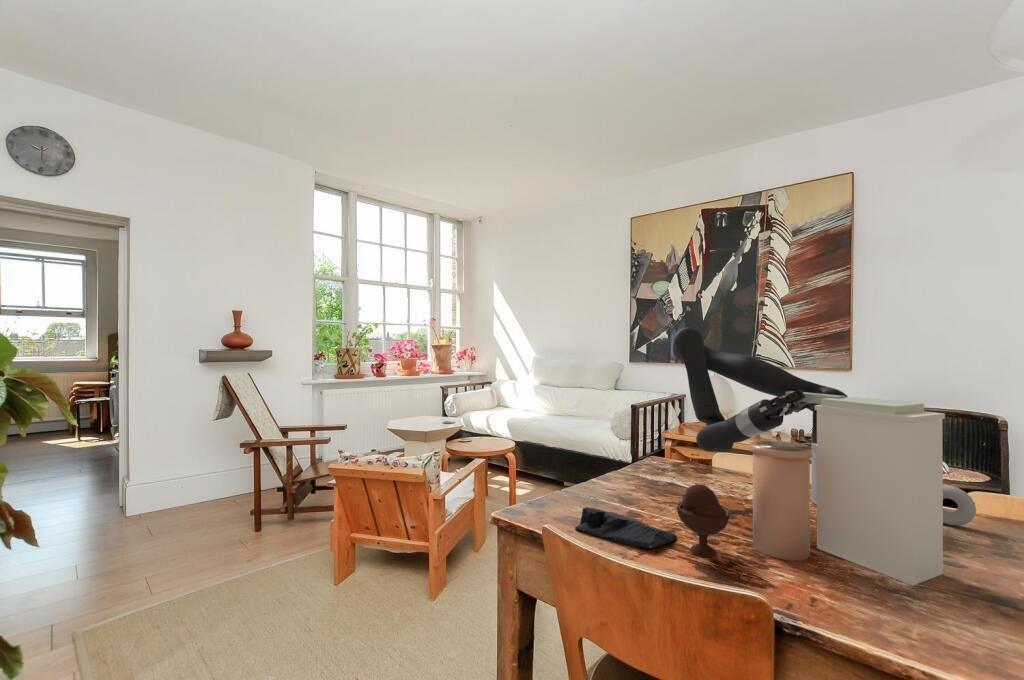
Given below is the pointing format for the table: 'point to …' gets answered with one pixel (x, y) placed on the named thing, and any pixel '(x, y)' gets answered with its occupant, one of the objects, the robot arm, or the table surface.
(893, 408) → the cover
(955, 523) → the donut
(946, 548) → the table surface
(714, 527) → the ice cream bowl
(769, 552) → the terracotta pot
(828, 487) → the upright grey panel box
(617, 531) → the black flat lumpy piece
